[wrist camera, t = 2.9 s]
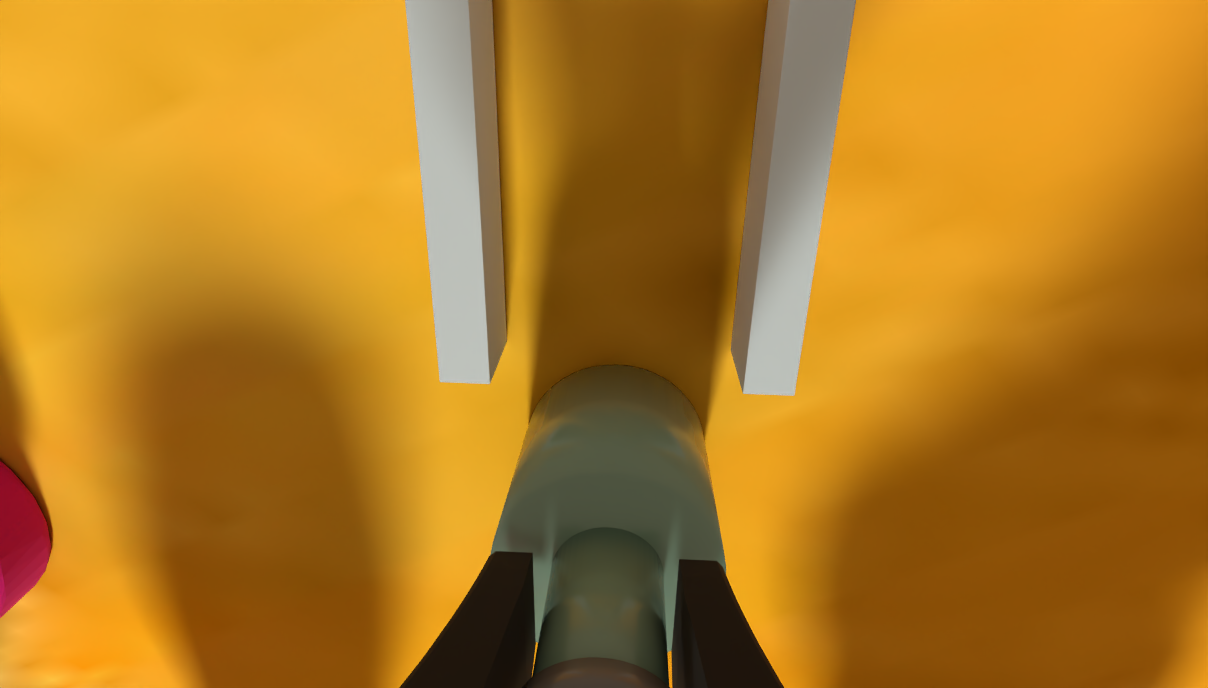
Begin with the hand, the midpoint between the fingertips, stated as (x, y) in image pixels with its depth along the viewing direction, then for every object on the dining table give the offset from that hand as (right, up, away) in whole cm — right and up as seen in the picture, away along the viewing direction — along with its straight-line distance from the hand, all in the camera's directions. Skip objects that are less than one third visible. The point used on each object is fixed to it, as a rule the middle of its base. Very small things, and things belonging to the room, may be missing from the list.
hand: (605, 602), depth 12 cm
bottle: (0, +2, +5) cm, 5 cm away
